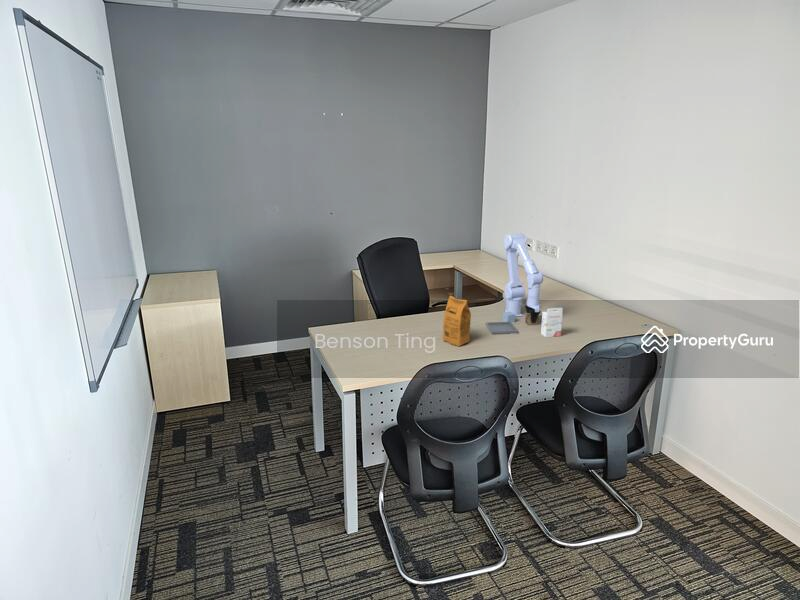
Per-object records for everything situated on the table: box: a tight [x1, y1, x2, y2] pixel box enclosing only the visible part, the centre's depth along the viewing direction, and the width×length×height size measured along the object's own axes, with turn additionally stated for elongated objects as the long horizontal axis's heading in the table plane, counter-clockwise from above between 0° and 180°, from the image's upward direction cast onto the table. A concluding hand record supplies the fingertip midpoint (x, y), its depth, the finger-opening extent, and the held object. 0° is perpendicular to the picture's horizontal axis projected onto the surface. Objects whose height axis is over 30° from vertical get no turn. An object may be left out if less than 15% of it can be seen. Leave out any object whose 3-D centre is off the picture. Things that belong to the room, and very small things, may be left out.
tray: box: [485, 321, 519, 335], centre depth 266 cm, size 13×13×2 cm
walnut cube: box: [524, 312, 539, 326], centre depth 274 cm, size 5×5×5 cm
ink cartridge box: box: [540, 307, 564, 338], centre depth 256 cm, size 9×5×15 cm, turn 101°
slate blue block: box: [502, 312, 516, 323], centre depth 277 cm, size 4×4×4 cm
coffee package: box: [442, 295, 472, 347], centre depth 247 cm, size 10×12×22 cm
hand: (531, 320), depth 274 cm, fingers closed on walnut cube, 5 cm apart
